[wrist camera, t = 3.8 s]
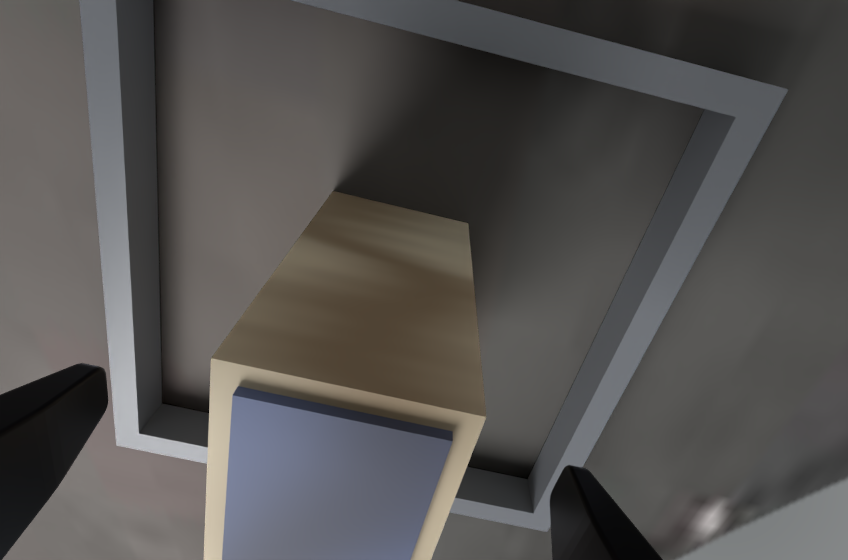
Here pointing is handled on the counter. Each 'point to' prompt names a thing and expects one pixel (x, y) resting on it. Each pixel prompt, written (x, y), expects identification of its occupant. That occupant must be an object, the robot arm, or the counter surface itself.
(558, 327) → the counter surface
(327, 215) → the birch label block
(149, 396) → the grey picture frame
